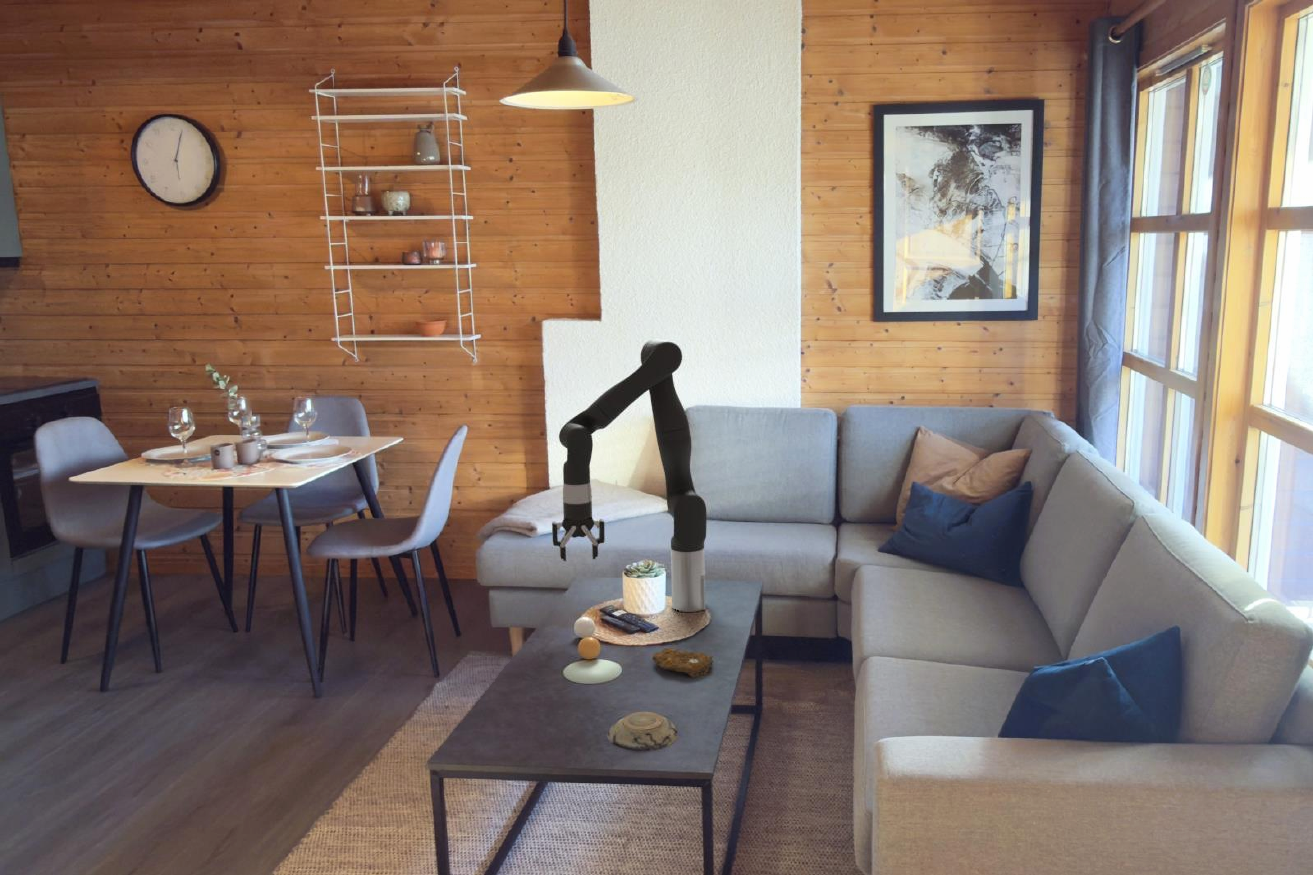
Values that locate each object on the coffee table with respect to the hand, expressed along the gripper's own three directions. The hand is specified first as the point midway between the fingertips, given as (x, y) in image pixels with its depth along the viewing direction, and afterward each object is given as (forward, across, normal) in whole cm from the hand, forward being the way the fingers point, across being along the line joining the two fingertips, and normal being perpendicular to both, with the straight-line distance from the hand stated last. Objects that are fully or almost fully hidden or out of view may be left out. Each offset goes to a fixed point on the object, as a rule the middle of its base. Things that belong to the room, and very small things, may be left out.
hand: (579, 559), depth 279 cm
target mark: (+18, 0, +32) cm, 37 cm away
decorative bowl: (+19, -8, +66) cm, 69 cm away
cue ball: (+15, 0, +10) cm, 18 cm away
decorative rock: (+19, -21, +34) cm, 44 cm away
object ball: (+15, 0, +24) cm, 29 cm away
